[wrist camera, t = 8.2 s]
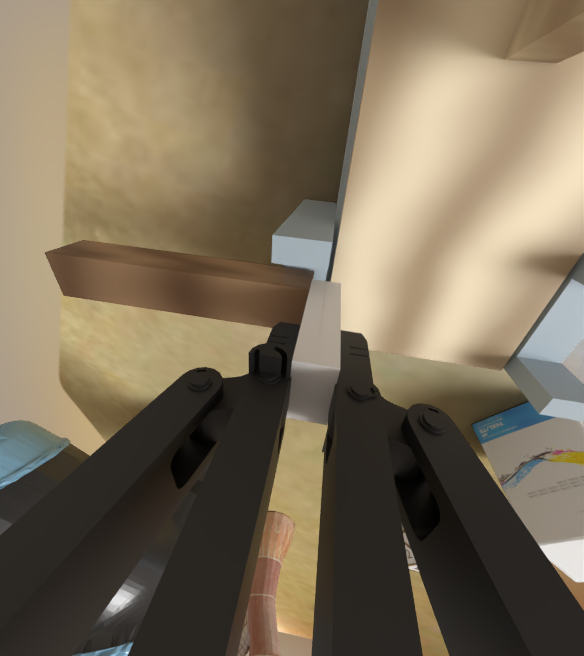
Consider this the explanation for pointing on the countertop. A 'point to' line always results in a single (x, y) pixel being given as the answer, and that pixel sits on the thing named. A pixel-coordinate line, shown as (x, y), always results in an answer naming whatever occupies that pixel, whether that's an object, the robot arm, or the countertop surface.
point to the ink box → (541, 478)
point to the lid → (463, 177)
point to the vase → (266, 589)
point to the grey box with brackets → (539, 343)
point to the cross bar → (182, 283)
